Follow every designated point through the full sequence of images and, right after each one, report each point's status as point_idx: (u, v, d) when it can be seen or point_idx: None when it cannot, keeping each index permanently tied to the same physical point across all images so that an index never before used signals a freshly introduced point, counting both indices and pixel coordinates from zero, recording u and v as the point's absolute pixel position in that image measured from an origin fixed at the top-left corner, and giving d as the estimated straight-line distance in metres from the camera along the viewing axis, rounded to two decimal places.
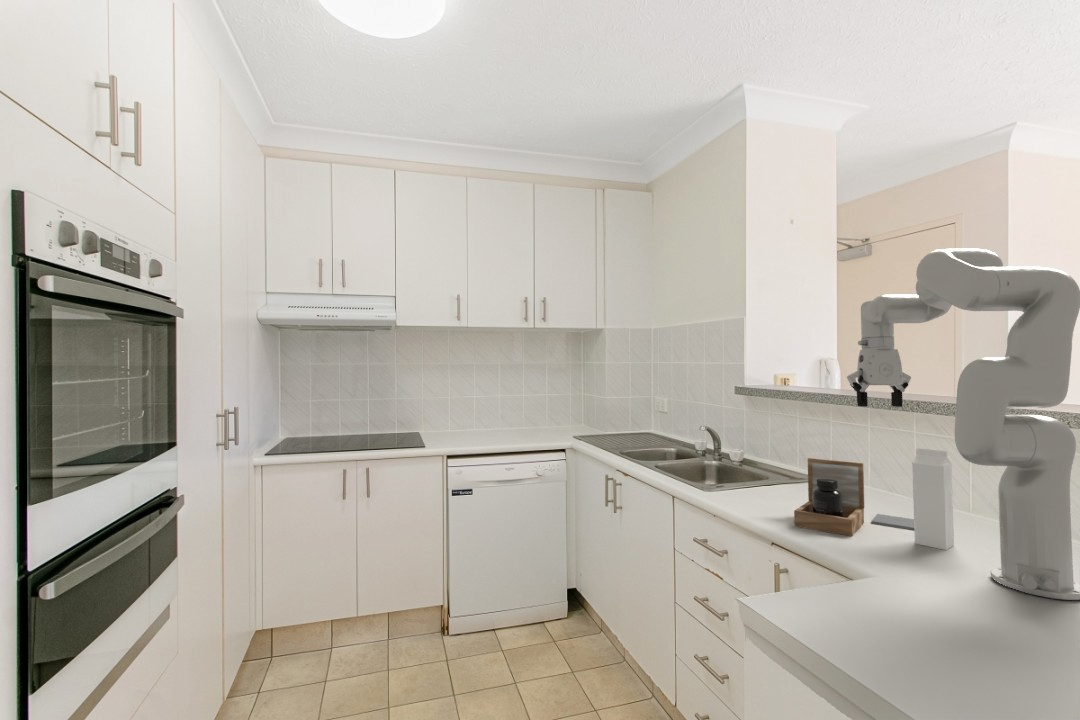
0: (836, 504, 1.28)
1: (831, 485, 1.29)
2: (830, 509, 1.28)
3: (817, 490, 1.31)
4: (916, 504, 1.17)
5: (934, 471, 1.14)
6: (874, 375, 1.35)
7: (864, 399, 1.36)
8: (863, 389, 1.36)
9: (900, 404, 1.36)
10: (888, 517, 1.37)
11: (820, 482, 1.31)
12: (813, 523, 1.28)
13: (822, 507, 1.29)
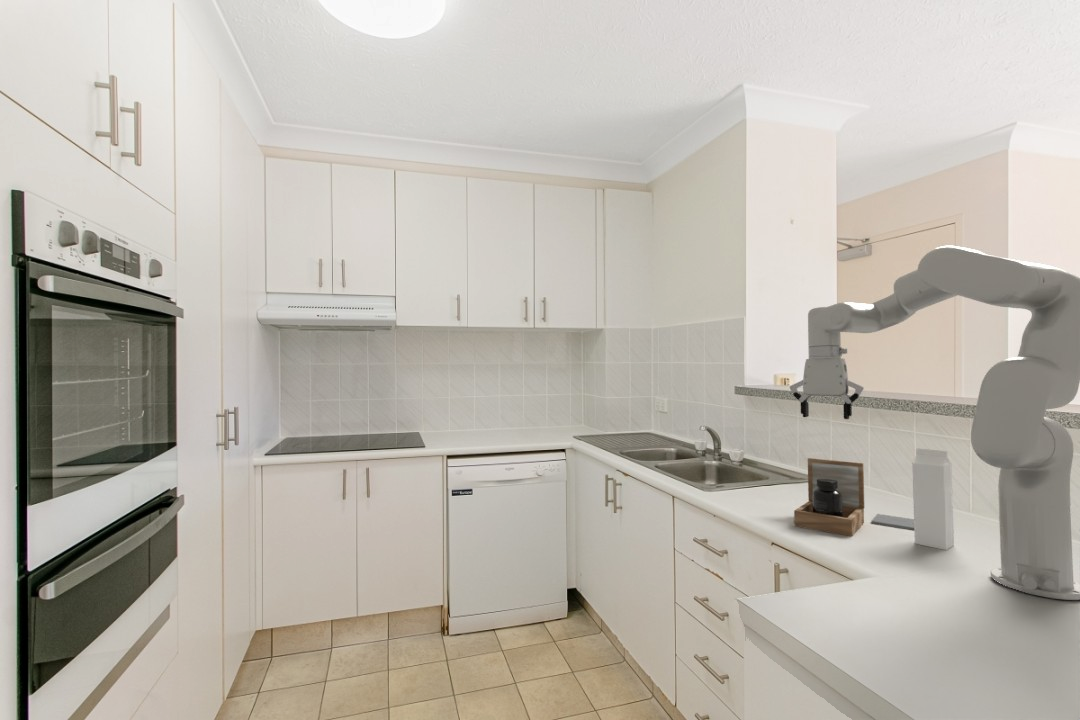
0: (836, 504, 1.28)
1: (831, 485, 1.29)
2: (830, 509, 1.28)
3: (817, 490, 1.31)
4: (916, 504, 1.17)
5: (934, 471, 1.14)
6: None
7: None
8: None
9: None
10: (888, 517, 1.37)
11: (820, 482, 1.31)
12: (813, 523, 1.28)
13: (822, 507, 1.29)
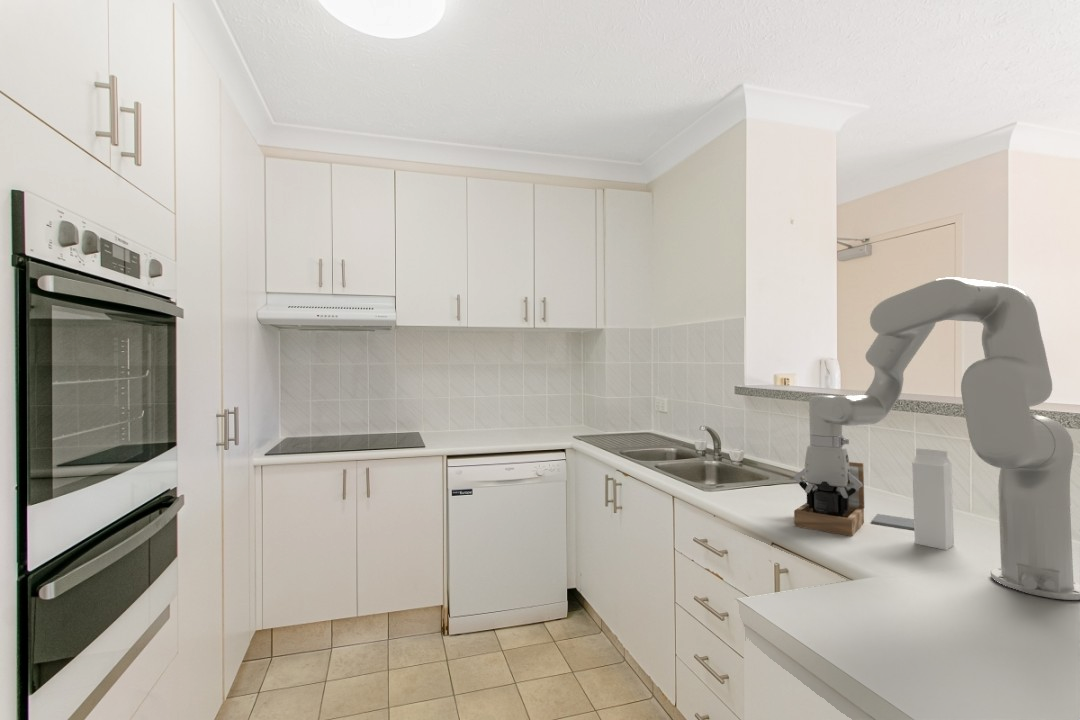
0: (836, 504, 1.28)
1: None
2: (830, 508, 1.28)
3: (817, 490, 1.31)
4: (916, 504, 1.17)
5: (934, 471, 1.14)
6: None
7: None
8: None
9: None
10: (888, 517, 1.37)
11: None
12: (813, 523, 1.28)
13: (822, 507, 1.29)
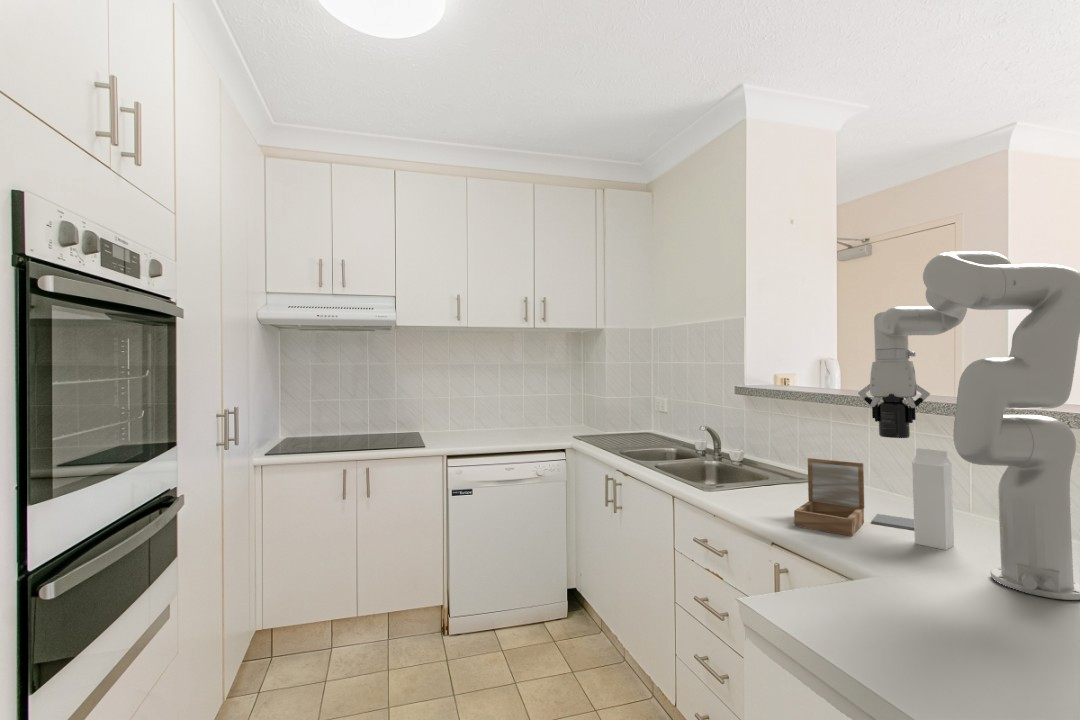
0: (903, 414, 1.32)
1: None
2: (898, 418, 1.32)
3: (883, 402, 1.35)
4: (916, 504, 1.17)
5: (934, 471, 1.14)
6: None
7: None
8: None
9: None
10: (888, 517, 1.37)
11: None
12: (813, 523, 1.28)
13: (889, 417, 1.33)
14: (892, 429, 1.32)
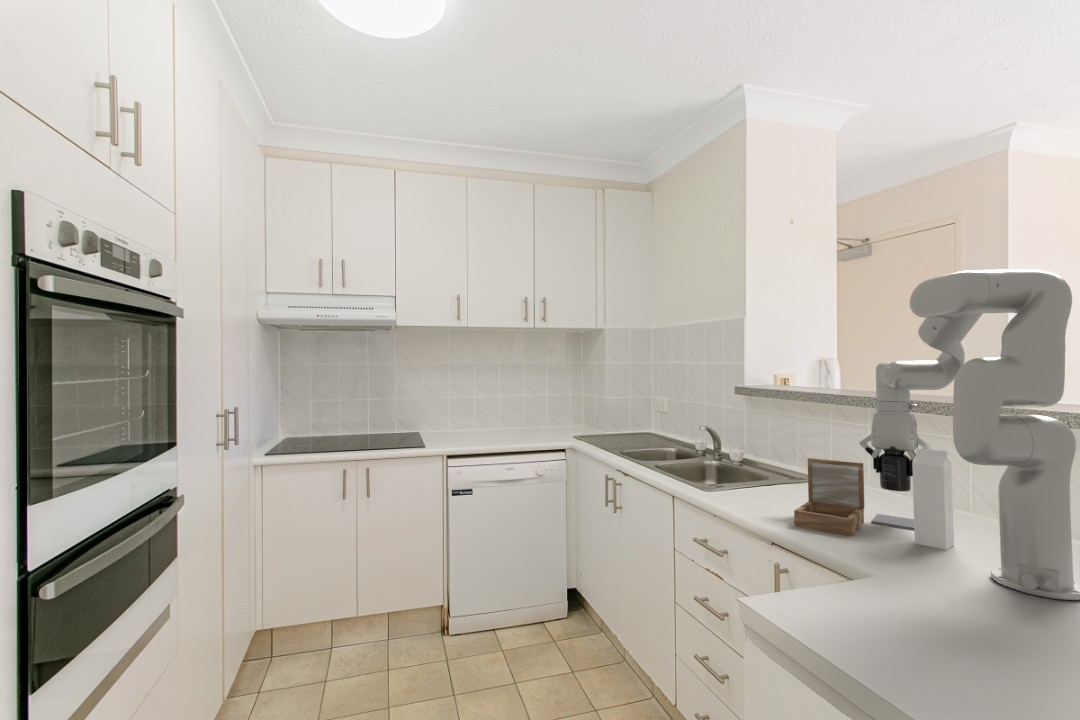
0: (904, 467, 1.31)
1: None
2: (899, 471, 1.32)
3: (885, 454, 1.35)
4: (916, 504, 1.17)
5: (934, 471, 1.14)
6: None
7: None
8: None
9: None
10: (888, 517, 1.37)
11: None
12: (813, 523, 1.28)
13: (891, 470, 1.33)
14: (893, 483, 1.32)
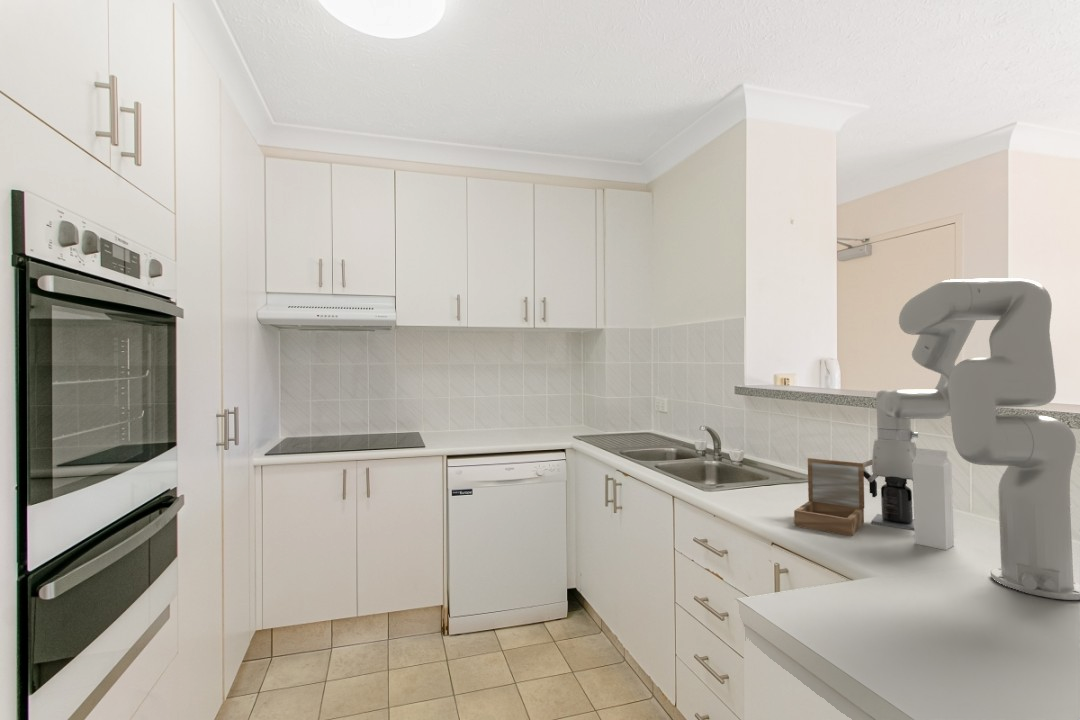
0: (906, 499, 1.31)
1: (901, 481, 1.32)
2: (901, 504, 1.31)
3: (886, 486, 1.34)
4: (916, 504, 1.17)
5: (934, 471, 1.14)
6: None
7: None
8: None
9: None
10: None
11: (889, 478, 1.34)
12: (813, 523, 1.28)
13: (892, 502, 1.32)
14: (895, 515, 1.31)
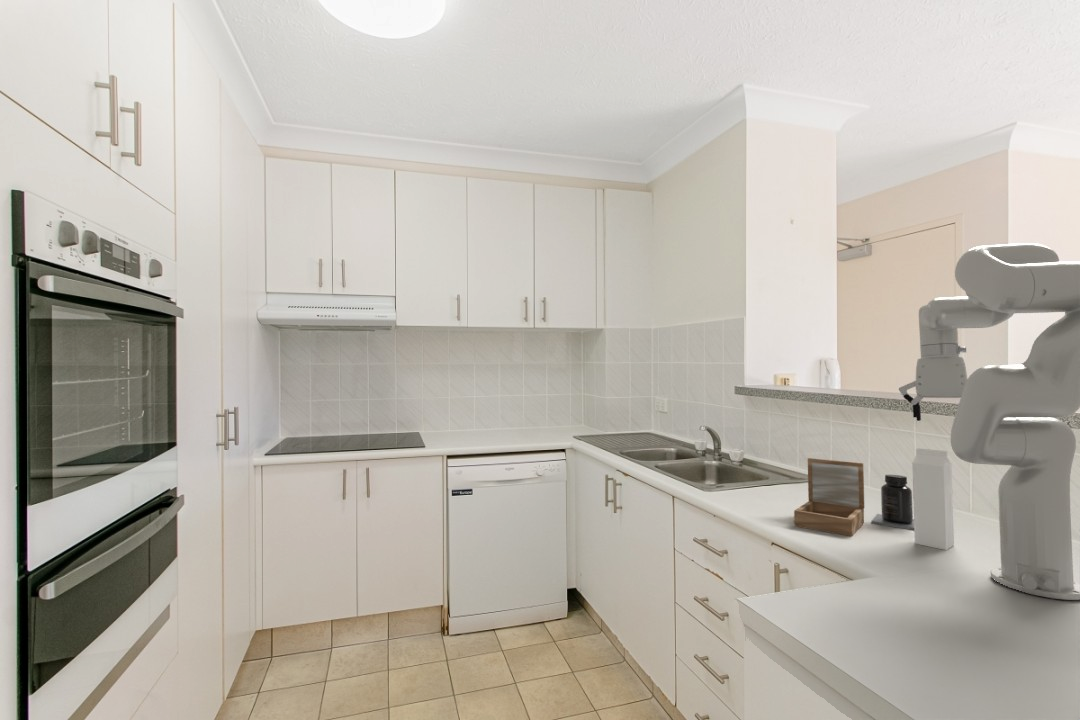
0: (906, 499, 1.31)
1: (901, 481, 1.32)
2: (901, 504, 1.31)
3: (886, 486, 1.34)
4: (916, 504, 1.17)
5: (934, 471, 1.14)
6: None
7: None
8: None
9: None
10: None
11: (889, 478, 1.34)
12: (813, 523, 1.28)
13: (892, 502, 1.32)
14: (895, 515, 1.31)
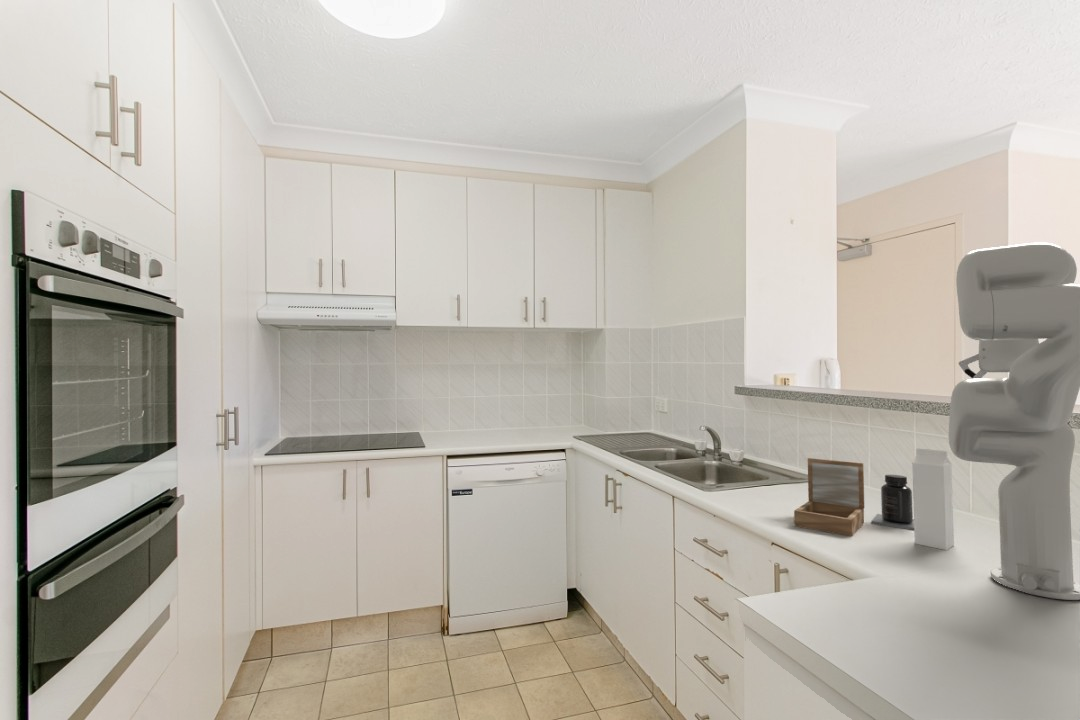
0: (906, 499, 1.31)
1: (901, 481, 1.32)
2: (901, 504, 1.31)
3: (886, 486, 1.34)
4: (916, 504, 1.17)
5: (934, 471, 1.14)
6: None
7: None
8: None
9: None
10: None
11: (889, 478, 1.34)
12: (813, 523, 1.28)
13: (892, 502, 1.32)
14: (895, 515, 1.31)
